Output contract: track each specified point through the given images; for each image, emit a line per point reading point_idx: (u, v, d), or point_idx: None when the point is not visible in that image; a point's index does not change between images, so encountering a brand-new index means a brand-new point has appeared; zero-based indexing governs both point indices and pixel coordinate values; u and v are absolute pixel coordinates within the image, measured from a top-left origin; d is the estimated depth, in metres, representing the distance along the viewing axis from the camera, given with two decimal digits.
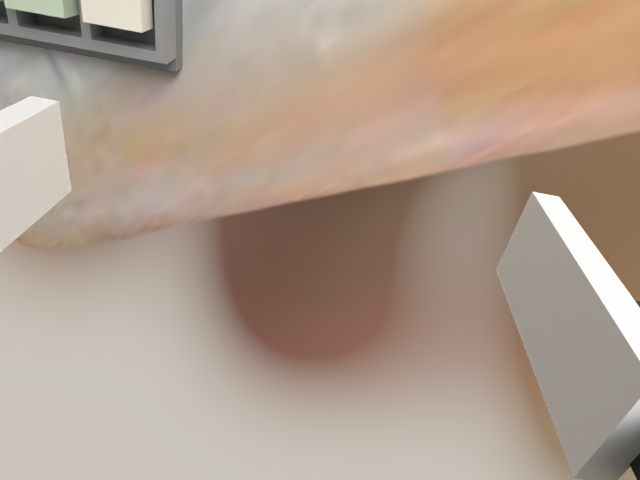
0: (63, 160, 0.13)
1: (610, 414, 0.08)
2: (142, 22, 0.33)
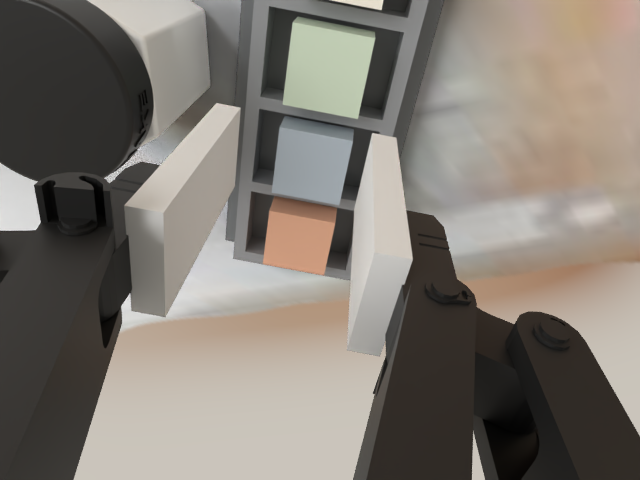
0: (235, 159, 0.15)
1: (362, 289, 0.10)
2: None
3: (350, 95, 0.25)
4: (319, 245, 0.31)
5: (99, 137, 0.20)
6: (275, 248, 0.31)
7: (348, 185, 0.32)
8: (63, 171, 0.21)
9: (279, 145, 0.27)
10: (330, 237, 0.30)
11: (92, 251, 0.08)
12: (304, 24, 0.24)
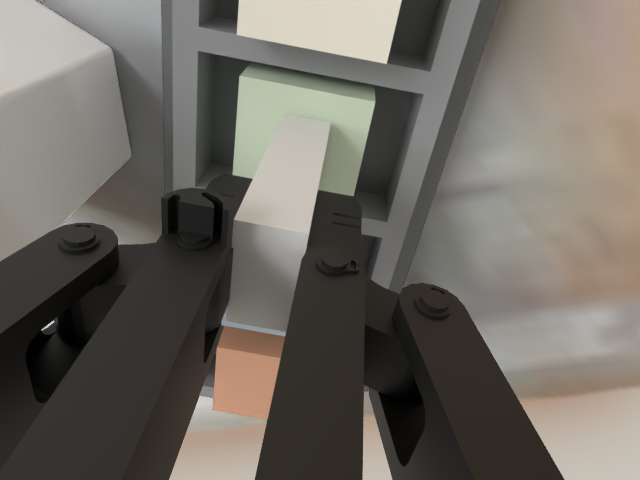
0: None
1: None
2: None
3: (336, 185, 0.16)
4: None
5: None
6: (229, 392, 0.21)
7: None
8: None
9: None
10: None
11: (206, 268, 0.08)
12: (259, 78, 0.14)
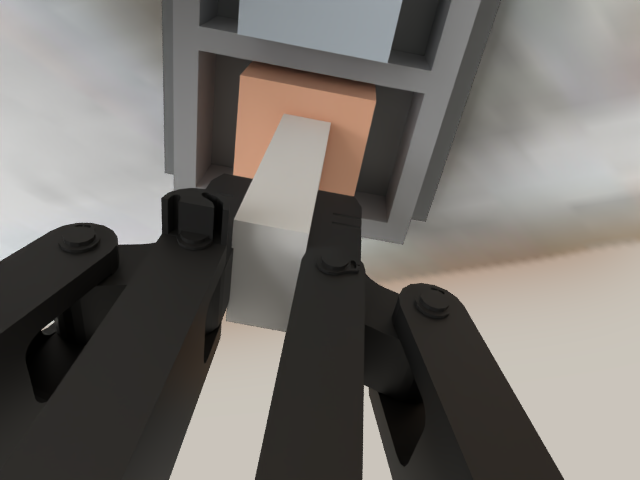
0: None
1: None
2: None
3: None
4: (341, 152, 0.15)
5: None
6: (254, 162, 0.16)
7: (396, 52, 0.16)
8: None
9: None
10: (364, 134, 0.15)
11: (206, 268, 0.08)
12: None
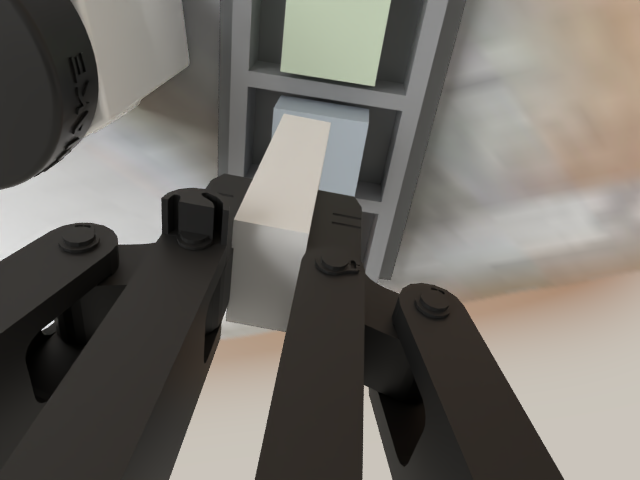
0: None
1: None
2: None
3: (364, 56, 0.20)
4: None
5: (17, 120, 0.15)
6: None
7: (363, 182, 0.26)
8: None
9: (274, 131, 0.21)
10: None
11: (206, 268, 0.08)
12: None
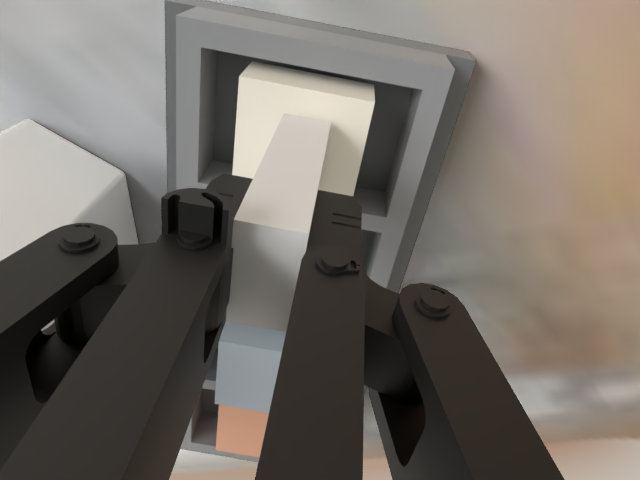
0: None
1: None
2: (355, 96, 0.15)
3: None
4: None
5: None
6: (229, 437, 0.26)
7: None
8: None
9: (220, 358, 0.21)
10: None
11: (206, 268, 0.08)
12: None
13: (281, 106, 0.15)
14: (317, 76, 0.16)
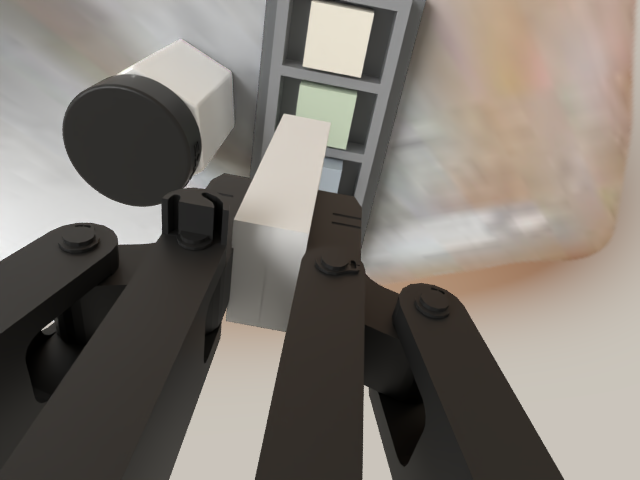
0: None
1: None
2: (365, 11, 0.31)
3: (340, 133, 0.36)
4: None
5: (167, 174, 0.30)
6: None
7: None
8: (140, 196, 0.31)
9: None
10: None
11: (206, 268, 0.08)
12: (308, 86, 0.34)
13: (330, 16, 0.32)
14: (346, 4, 0.33)
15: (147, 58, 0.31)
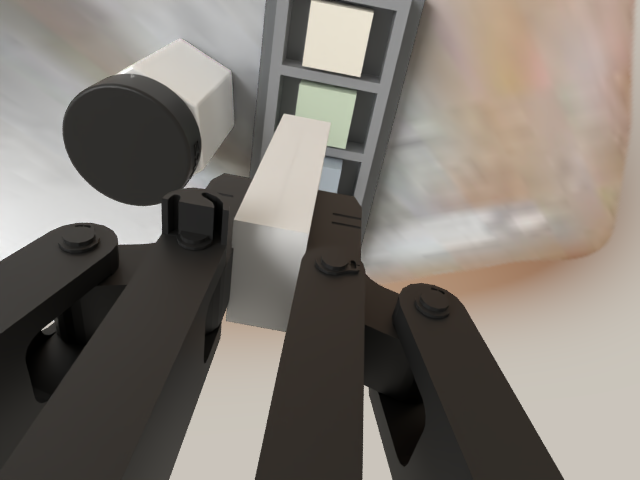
0: None
1: None
2: (364, 10, 0.32)
3: (339, 132, 0.36)
4: None
5: (167, 173, 0.30)
6: None
7: None
8: (140, 195, 0.31)
9: None
10: None
11: (206, 268, 0.08)
12: (307, 85, 0.34)
13: (329, 16, 0.32)
14: (346, 4, 0.33)
15: (147, 58, 0.31)
